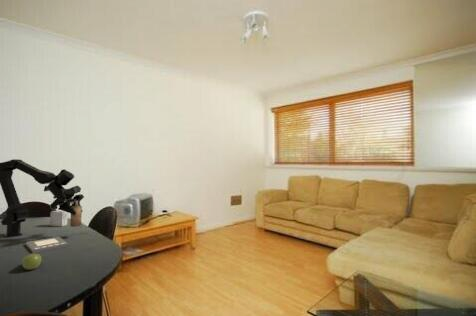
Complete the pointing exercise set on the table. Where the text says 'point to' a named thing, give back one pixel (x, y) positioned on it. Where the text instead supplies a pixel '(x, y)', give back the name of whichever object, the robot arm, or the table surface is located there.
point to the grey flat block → (46, 244)
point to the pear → (31, 261)
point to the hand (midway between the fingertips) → (78, 213)
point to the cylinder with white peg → (76, 215)
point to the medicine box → (58, 218)
